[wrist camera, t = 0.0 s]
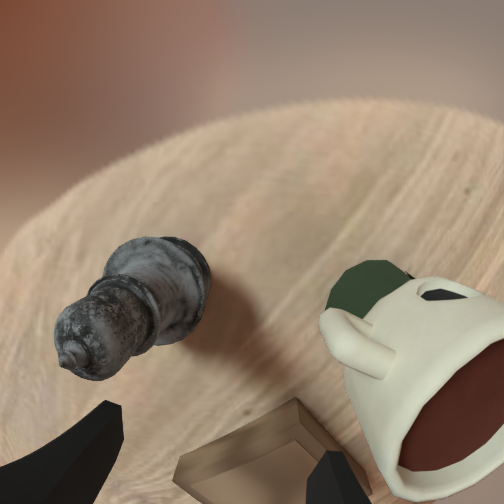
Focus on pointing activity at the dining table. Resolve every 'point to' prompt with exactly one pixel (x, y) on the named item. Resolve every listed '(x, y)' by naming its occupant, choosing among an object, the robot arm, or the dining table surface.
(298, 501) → the walnut plinth
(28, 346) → the dining table surface
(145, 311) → the salt shaker
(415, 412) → the character mug
